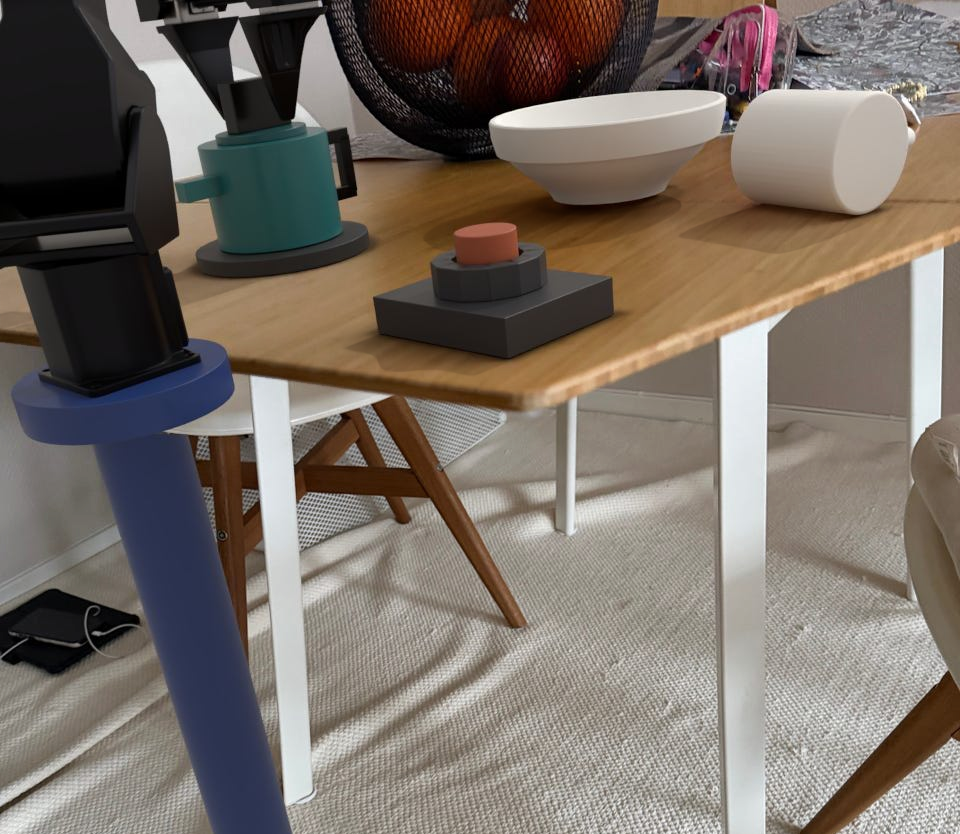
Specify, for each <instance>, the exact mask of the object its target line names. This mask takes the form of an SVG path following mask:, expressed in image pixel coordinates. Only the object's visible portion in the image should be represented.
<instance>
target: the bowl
mask: <svg viewBox="0 0 960 834" xmlns="http://www.w3.org/2000/svg"><path fill="white" fill-rule="evenodd" d="M726 106H727V96H726V95H724V93H722V92H718V91H712V90H700V89H699V90H698V89H697V90H696V89H676V90H675V89H673V90H672V89H671V90H669V89H668V90H652V91H651V90H648V91H636V92H625V93H613V94H605V95H604V94H603V95H597V96H595V95H594V96H587V97H580V98H572V99H566V100H560V101H553V102H548V103H542V104H537V105H532V106H528V107H523V108H518V109H514V110H512V111H511V110H510V111H507V112H504V113H501V114H499V115H496V116H494V117H493V118H491V119H490V120H489V122H488V128H489V134H490V135H489V136H490V141H491V143H492V144H491V145H492V146H493V149H494V152H495V155H496V157H497V158H499V159H500V160H502V161H506V162H509V163H510V164H511V166H513V167H514V168H515V169H517V170H518V171H519V172H521V174H523V175H524V176H526V178H528V179H530V180H531V181H533V182H534V183H536V184H537V185H539V186H541V187H542V188H543V189H545V191H547V193H548V194H549V195H550V196H551V198H552V200H554V201H555V202H557V203H560V204H566V205H577V206H579V205H581V206H584V205H585V206H587V205H605V204H615V203H623V202H630V201H636V200H641V199H645V198H649V197H653V196H656V195H658V194H661V193H663V192H664V191H665V190H666V189H667V188H668V185H669V183H670V182H671V181H672V179H673V178H674V177H675V176H676V174H678V173H679V172H680V171H681V170H682V169H683V168H684V167H686V166H687V164H689V163H690V162H691V161H692V160H693V159H694V158H695V157H696V156H697V155H698V154H699V153H700V152H701V151H702V150H703V149H704V148H705V146H706V144H707V143H708V142H709V141H711V140H713V139H715V138H717V137H718V136H720V134H721V132H722V128H723V124H724V120H725V116H726V109H727V108H726Z"/></svg>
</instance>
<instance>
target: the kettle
mask: <svg viewBox="0 0 960 834" xmlns="http://www.w3.org/2000/svg"><path fill="white" fill-rule="evenodd" d="M218 89H219V94H220V99H221V104H222V108H223V113H224V118H225V121H224V122H225V126H226V130H225V131H222V132H219V133H216V134H215V136H214V138H215V139H211V140H209V141H205V142H203V143H200V144H199V145H197V147H196V149H197V152H198V157H199V161H200V167H201V169H202V170H201V171H202V176H198V177H193V178H189V179H184V180H180V181H175V182H174V189H175V193H176V197H177V200H178V203H181V204H192V203H196V202H200V201H203V200H207V199H208V202H209V206H210V211H211V215H212V220H213V224H214V230H215V234H216V237H217V239H218V243H219V247H220V249H221V250H222V251H225V252H229V253H241V254H249V253H265V252H275V251H282V250H288V249H294V248H299V247H304V246H308V245H312V244H316V243H320V242H323V241H326V240H329V239H331V238H333V237H335V236H337V235H339V234H340V233H341V232H342V231H343V227H342V221H343V220H342V215H341V210H340V203H339V202H340V201H344V200H349V199H351V198H354V197H358V184H357V177H356V171H355V164H354V159H353V152H352V145H351V139H350V134H349V131H348V127H347V126H338V127H333V128H329V129H327V128H325V127H322V126H307V124H306V122H304V121H292V120H288V121H282V120H280V118H279V116H278V113H277V111H276V109H275V107H274V105H273V103H272V101H271V98H270V96H269V94H268V91H267V89H266V86H265V84H264V81H263V79H262V76H261V75H258V76H252V77H246V78H242V79H241V78H240V79H236V80H235V79H234V81H229V82H224V83H218ZM331 145H333V146H334V153H335V159H336V166H337V170H338V177H339V184H340V185H336V178H335V173H334V168H333V163H332V162H333V161H332V156H331V149H330V146H331Z"/></svg>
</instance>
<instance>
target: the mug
mask: <svg viewBox="0 0 960 834" xmlns="http://www.w3.org/2000/svg"><path fill="white" fill-rule="evenodd" d="M915 142H916V133H915V131H914V129H913V128H911V127H910V126H908V120H907V116H906V113H905V111H904V109H903V107H902V105H901V103H900V102H899V101H898V99H897V98H896V97H895V96H893V95H892V94H890V93H888V92H885V91H881V90H845V89H844V90H839V89H835V90H834V89H789V88H787V89H786V88H774V89H769V90H766V91H764V92H762V93H760V94H759V95H757V96H756V97H754V99H753V100H751V101H750V103H749V104H748V105H747V106H746V108H745V109H744V111H743V112H742V114H741V115H740V118H739V119H738V121H737V123H736V127H735V129H734V132H733V136H732V140H731V147H730V168H731V173H732V176H733V180H734V182H735V184H736V186H737V189H738V190H739V191H740V193H741V194H742V195H743V196H744V197H746V198H747V199H748V200H750V201H752V202H754V203H759V204H767V205H774V206H781V207H789V208H798V209H805V210H813V211H820V212H829V213H837V214H844V215H845V214H846V215H852V216H861V215H866V214H868V213H870V212H872V211H874V210H876V209H877V208H878V207H880V206H881V205H882V204H883V203H884V202H885V201H886V200H887V199H888V198H889V196H890V195H891V194H892V192H893V191H894V190H895V188H896V185H897V184H898V182H899V180H900V177H901V175H902V173H903V169H904V167H905V163H906V159H907V154H908V150H909V148H911V147H912V146H913V145H914V144H915Z"/></svg>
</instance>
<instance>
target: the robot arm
mask: <svg viewBox="0 0 960 834" xmlns="http://www.w3.org/2000/svg"><path fill="white" fill-rule="evenodd" d="M134 1H135V2H134V3H135V5H136V10H137V15H138V18H139V22H140V23H146V22H147V23H148V22H154V21H163V25H159V26H155V29H156V32H157V33H158V35H159V34H160V35H163V36H164V38H165V40H166V41H167V42H168V43H169V44H170V46H171V47H172V48H173V50H174V52H175V53H177V55H178V56H179V58H180V59H181V60H182V62H183V63H184V64H185V66H186V67H187V69H188V70H189V71H190V73H191V74H192V75H193V77H194V78H195V80H196V81H197V83H198V85H199V86H200V87H201V89H202V91H203V92H204V94H205V95H206V96H207V98H208V99H209V101H210V102H211V104H212V105H213V107H214V108H215V110H216V111H217V112H218V114H219V115H220V117H221V119H222V120H223V121H224V122H225V118H224V113H223V108H222V104H221V99H220V94H219V89H218V83H224V82H229V81H235V78H234V69H233V61H232V54H231V47H230V41H231V38H232V36H233V34H234V32H235V30H236V29H235V28H236V26H237V24H238V22H239V24H240V27H241V30H242V33H243V35H244V36H245V39H246V42H247V44H248V46H249V49H250V51H251V53H252V56H253V58H254V62H255V63H256V66H257V68H258V71H259V74H260V76H262V79H263V81H264V84H265V86H266V89H267V91H268V94H269V96H270V98H271V101H272V103H273V105H274V107H275V109H276V111H277V113H278V116H279V118H280V120H282V121H288V120H291V121H292V120H294V119H295V118H296V114H297V106H298V105H297V103H298V94H299V87H300V77H301V68H302V60H303V54H304V48H305V43H306V38H307V36H308V33H309V32H310V30H312V28H313V26H314V24H315V23H316V22H317V20H318V19H319V17H321V16H323V15H326V13H327V11H328V5H322V6H319V2H320V1H321V0H134ZM240 3H245V4H246V5H247V6H248V8H249V9H250V10H257V9H258V13H259V14H254V15H247V16H246V15H245V16H239V15H234V16H233V15H232V16H225V17H224V16H223V17H220V15H219V13H224V12H226V11H227V8H228V5H232V4H233V5H235V4H240ZM0 14H1V18H0V271H1V270H3V269H5V268H10V267H11V268H12V267H16V270H17V273H18V276H19V279H20V283H21V286H22V288H23V292H24V295H25V298H26V302H27V305H28V308H29V311H30V313H31V317H32V320H33V323H34V327H35V329H36V332H37V336H38V338H39V342H40V345H41V348H42V351H43V355H44V358H45V360H46V363H47V364H46V365H48V368H44V369H42V370H39V371H38V372H37V373H38V376H39V379H40V380H41V381H43V382H46V383H49V384H52V385H55V386H58V387H61V388H63V389H66V390H69V391H72V392H75V393H78V394H81V395H83V396H86V397H89V398H97V397H102V396H105V395H108V394H111V393H114V392H116V391H119V390H122V389H125V388H128V387H131V386H134V385H137V384H140V383H143V382H146V381H149V380H151V379H154V378H157V377H160V376H163V375H166V374H169V373H172V372H175V371H178V370H181V369H183V368H186V367H189V366H192V365H195V364H198V363H200V362H201V361H202V360H201V356H200V353H199V352H195V351H192V350H188V349H184V347H187V346H188V344H189V338H190V337H189V334H188V329H187V326H186V322H185V318H184V314H183V310H182V306H181V302H180V298H179V294H178V290H177V287H176V281H175V278H174V275H173V271H172V269H171V268H170V267H167V266H164V265H163V263H162V259H161V254H160V250H161V249H163V248H164V247H166V246H167V245H168V244H169V243H171V242H172V241H175V239H177V238H178V237H180V224H179V218H178V209H177V208H178V207H177V200H176V190H175V184H174V183H175V182H174V175H173V166H172V157H171V149H170V145H169V140H168V136H167V133H166V130H165V126H164V124H163V122H162V119H161V118H160V115H159V114H158V107H157V93H156V92H157V91H156V87H155V85H154V84H153V83H154V82H152V80H151V78H150V77H149V75H148V73H146V72H145V70H143V69H140V68H139V67H138V66H137V64H136V63H135V61H134V59H133V58H132V57H131V55H130V54H129V53H128V52H127V50H126V48H125V47H124V46H123V44H122V43H121V41H119V39H118V37H117V36H116V35H115V33H114V32H113V30H112V29H111V27H110V22H109V16H108V9H107V3H106V0H0Z"/></svg>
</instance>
